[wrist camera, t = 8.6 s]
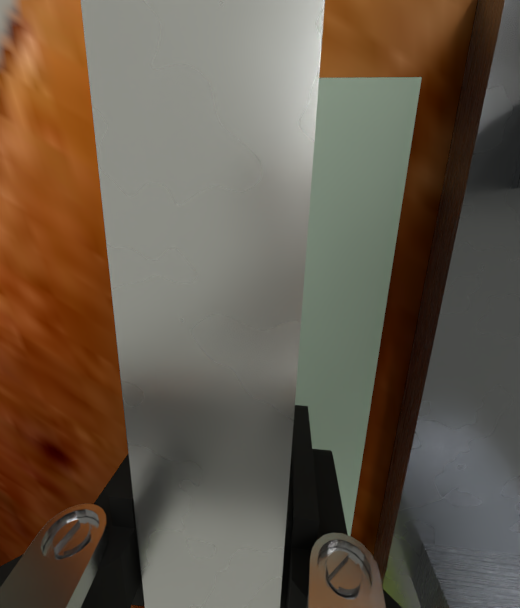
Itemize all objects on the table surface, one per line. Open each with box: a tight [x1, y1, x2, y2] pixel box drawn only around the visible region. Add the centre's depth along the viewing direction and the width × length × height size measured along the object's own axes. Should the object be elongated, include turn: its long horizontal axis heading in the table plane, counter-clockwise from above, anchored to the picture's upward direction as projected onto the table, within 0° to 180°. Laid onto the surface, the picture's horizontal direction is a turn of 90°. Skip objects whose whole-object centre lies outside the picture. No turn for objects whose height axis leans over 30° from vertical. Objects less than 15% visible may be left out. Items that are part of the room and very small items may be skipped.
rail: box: [81, 0, 325, 608], centre depth 7 cm, size 26×3×2 cm, turn 178°
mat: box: [295, 77, 422, 536], centre depth 13 cm, size 24×10×1 cm, turn 178°
